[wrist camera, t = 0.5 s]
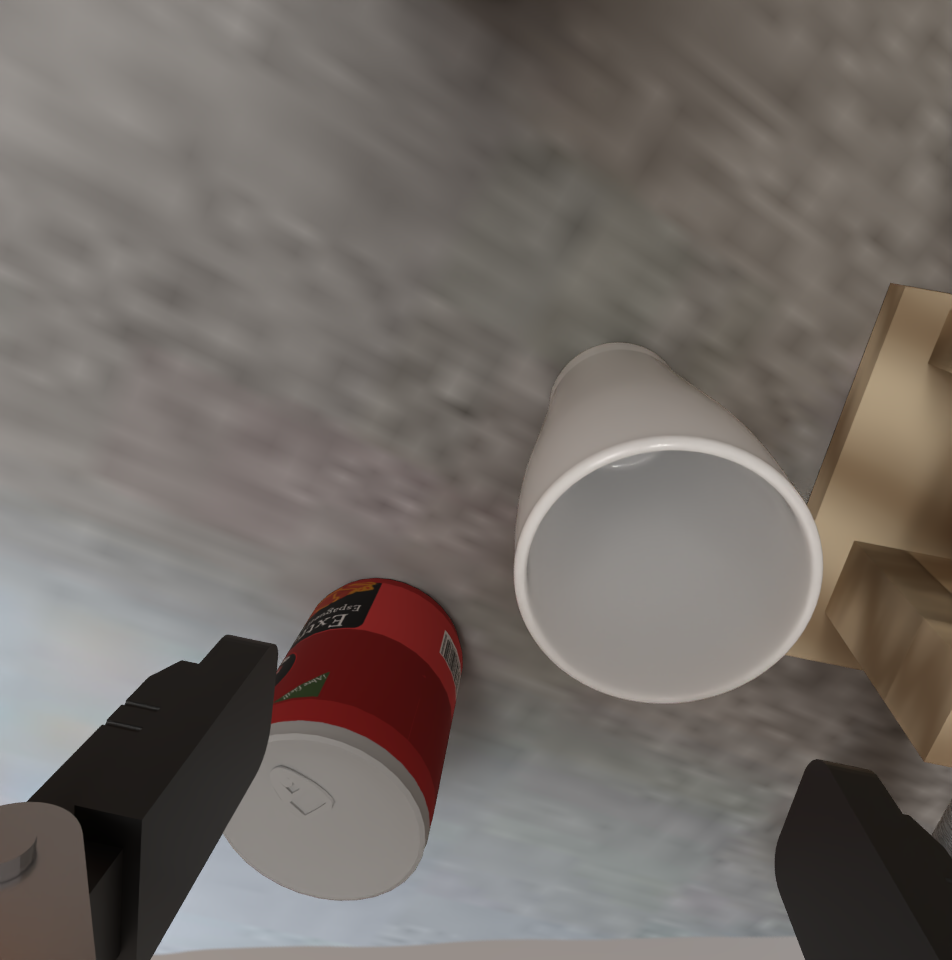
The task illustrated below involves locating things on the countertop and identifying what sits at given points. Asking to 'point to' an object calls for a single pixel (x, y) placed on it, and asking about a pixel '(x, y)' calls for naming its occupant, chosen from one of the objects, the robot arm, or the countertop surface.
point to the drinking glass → (658, 536)
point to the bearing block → (893, 522)
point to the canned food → (354, 745)
